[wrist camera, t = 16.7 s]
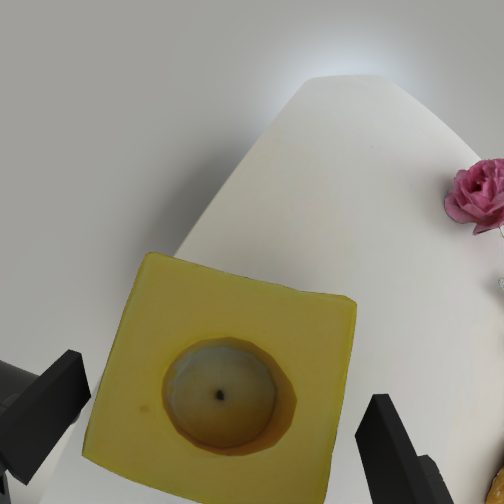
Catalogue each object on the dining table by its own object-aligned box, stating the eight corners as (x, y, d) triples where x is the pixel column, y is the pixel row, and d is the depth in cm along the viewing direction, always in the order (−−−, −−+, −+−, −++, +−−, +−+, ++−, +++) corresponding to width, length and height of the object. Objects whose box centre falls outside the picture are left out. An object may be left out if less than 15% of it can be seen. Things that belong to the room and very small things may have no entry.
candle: (181, 316, 22) (144, 243, 13) (313, 346, 21) (362, 290, 12) (142, 442, 16) (69, 452, 8) (285, 479, 15) (320, 525, 7)
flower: (428, 234, 31) (432, 150, 27) (466, 221, 33) (471, 151, 29) (504, 270, 21) (519, 168, 17) (530, 248, 23) (541, 168, 19)
